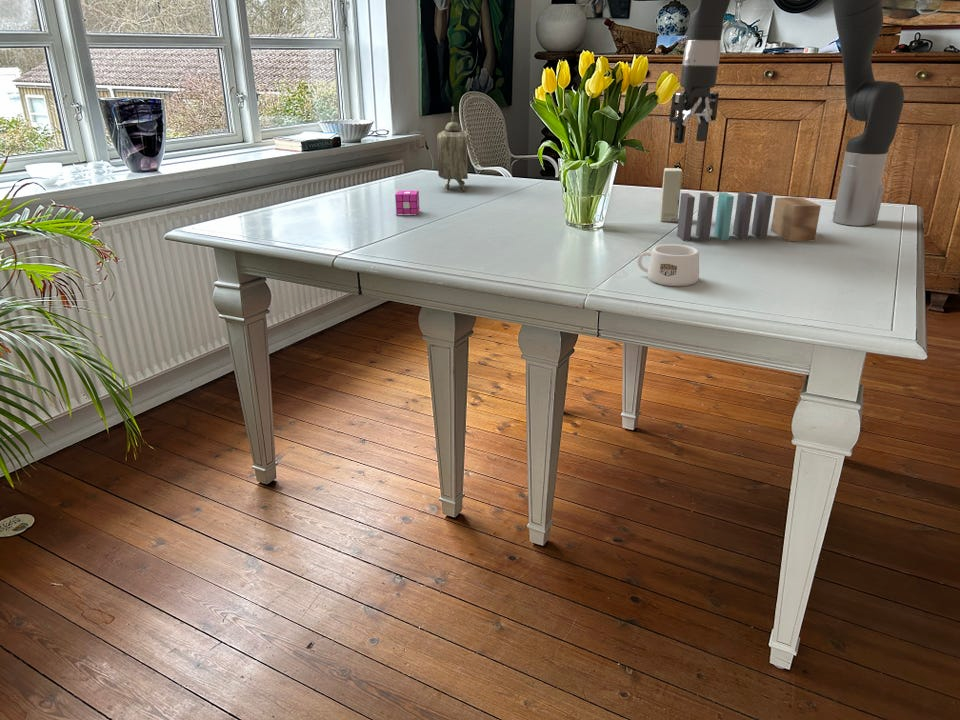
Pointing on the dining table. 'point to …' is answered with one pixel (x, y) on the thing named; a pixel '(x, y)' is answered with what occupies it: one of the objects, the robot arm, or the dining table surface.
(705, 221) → the domino
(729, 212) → the domino
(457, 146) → the tabletop clock
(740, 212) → the domino
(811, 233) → the end block
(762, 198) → the domino
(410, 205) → the puzzle toy
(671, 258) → the mug
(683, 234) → the domino
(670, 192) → the box
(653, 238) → the dining table surface
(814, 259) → the dining table surface
